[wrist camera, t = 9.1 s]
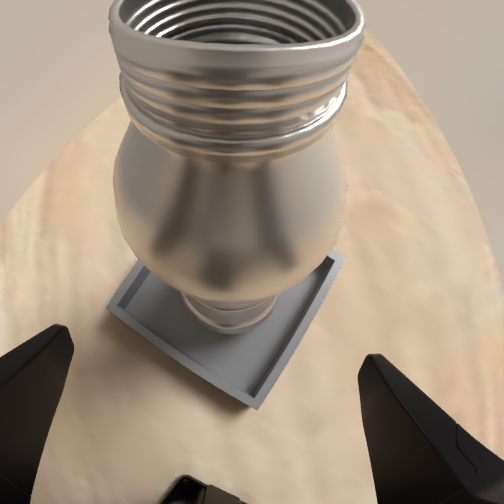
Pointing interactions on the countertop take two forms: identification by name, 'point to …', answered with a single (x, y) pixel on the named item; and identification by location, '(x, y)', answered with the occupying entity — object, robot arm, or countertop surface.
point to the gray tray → (224, 345)
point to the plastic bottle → (232, 145)
